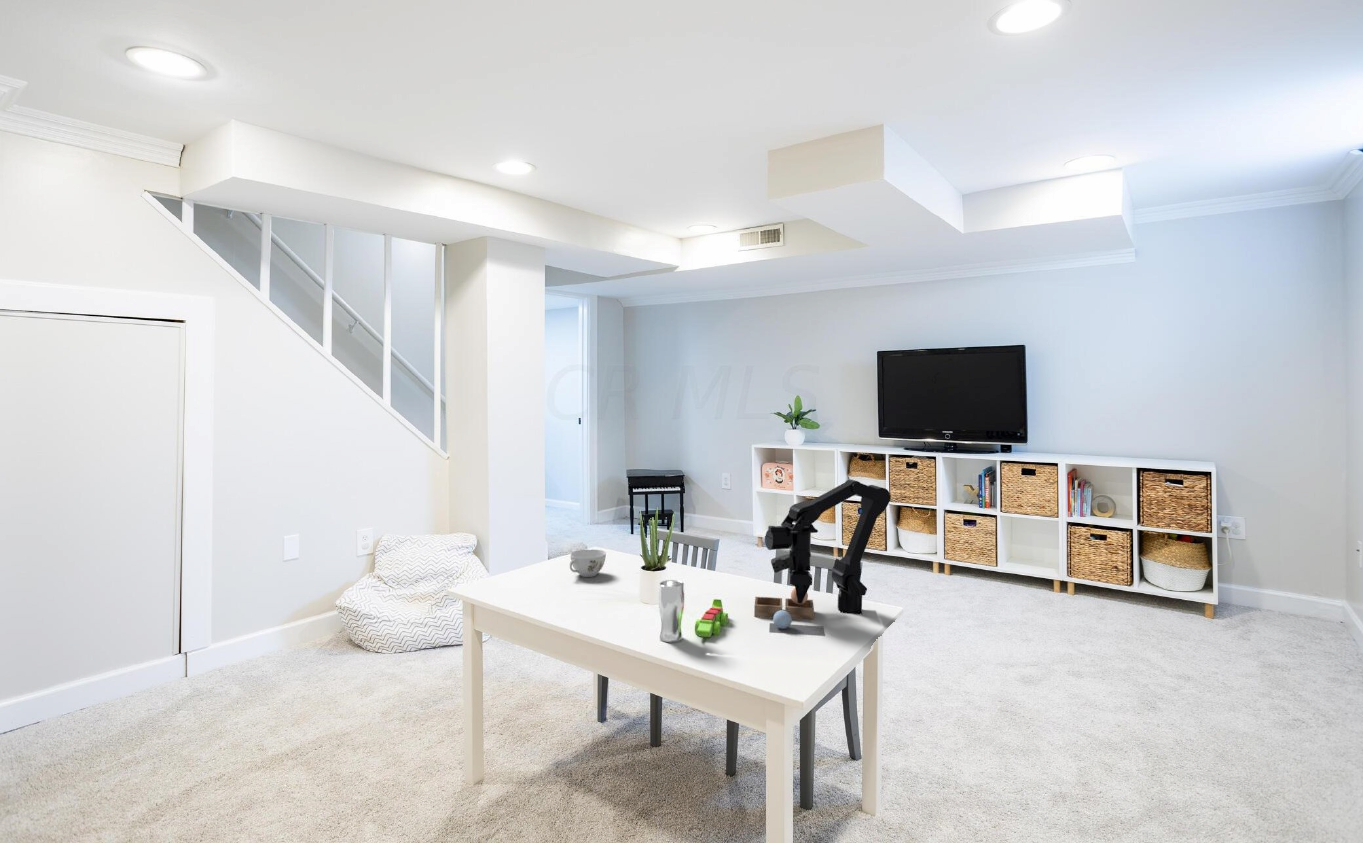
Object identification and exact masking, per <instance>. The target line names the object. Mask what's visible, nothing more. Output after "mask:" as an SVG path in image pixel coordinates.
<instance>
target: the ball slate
mask: <svg viewBox="0 0 1363 843" xmlns="http://www.w3.org/2000/svg"><path fill="white" fill-rule="evenodd" d="M772 620H773V623H774V624H775V625H776V626H777V627H778V628H780V629H786V628H788V627H789V626H790V624H792V619H791V616H790V614H789V613H788V612H787V611H785V610H784V609H782V610H780V611H777V612H776V613H775V615H774V617H773V618H772Z"/></svg>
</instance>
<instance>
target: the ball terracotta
mask: <svg viewBox="0 0 1363 843" xmlns="http://www.w3.org/2000/svg"><path fill="white" fill-rule="evenodd" d="M808 598H809V594H808V592H807V593H806V595H805V597H804V599H803V602H802V603H798V600H797V595H796V589H795V587H794V588H792V590H791V592H790V599H792V601H793V602H794V603H796V604H804V603H805V602H806V601H807V600H809V599H808Z"/></svg>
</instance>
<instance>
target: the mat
mask: <svg viewBox="0 0 1363 843" xmlns="http://www.w3.org/2000/svg"><path fill="white" fill-rule="evenodd" d="M768 629H769V631H768V632H769V633H771V634H772V633H774V634H791V635H803V636H804V635H805V636H807V635H808V636H818V637H819V636H821V637H825V636H826V633H825V627H824V626H822V625H807V624H806V625H805V624H792V623H791V624H790V626H789V627H788V628H786V629H780V628H778V627H777V626H776V625H775V624H774V622H769V628H768Z"/></svg>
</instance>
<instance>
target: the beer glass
mask: <svg viewBox="0 0 1363 843" xmlns="http://www.w3.org/2000/svg"><path fill="white" fill-rule="evenodd" d="M658 586H659V588H658V608H659V616H660V622H661V623H660V624H661V628H660V634H659V639H660V641H662V642H664V643H670V644H671V643H679V642H681V641H682V640H683V633H682V620H683V615H684V610H685V599H686V598H685V597H686V596H685V594H686V593H685V583H684V582H683V581H681V580H678V579H668V580H667V579H666V580H662V581H660V582H659V585H658Z"/></svg>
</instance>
